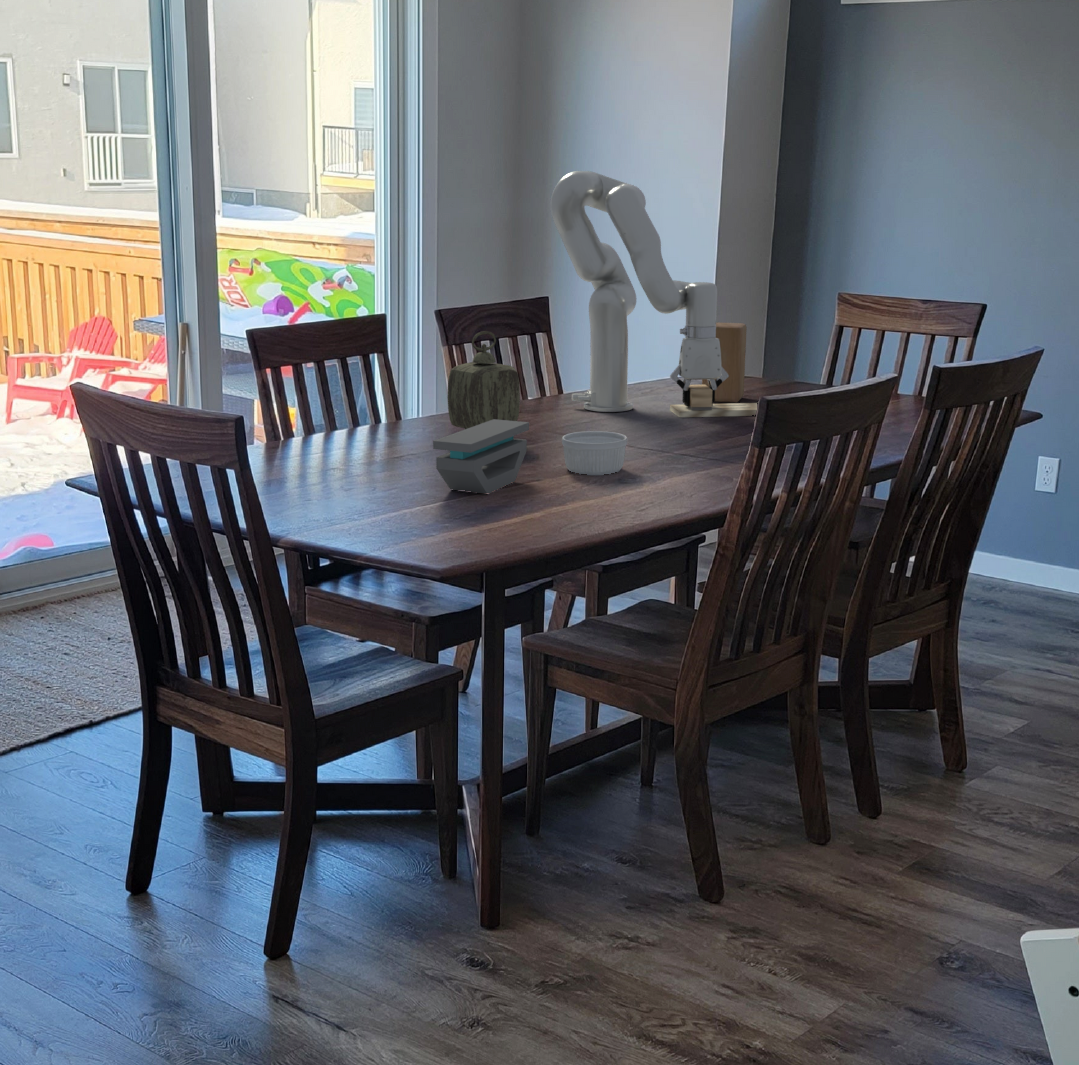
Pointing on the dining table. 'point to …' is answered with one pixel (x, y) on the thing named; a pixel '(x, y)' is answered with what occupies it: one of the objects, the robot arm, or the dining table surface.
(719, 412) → the birch plank
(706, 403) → the block
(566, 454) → the ramekin
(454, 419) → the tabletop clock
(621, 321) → the robot arm
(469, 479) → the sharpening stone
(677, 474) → the dining table surface
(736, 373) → the wooden block
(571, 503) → the dining table surface
